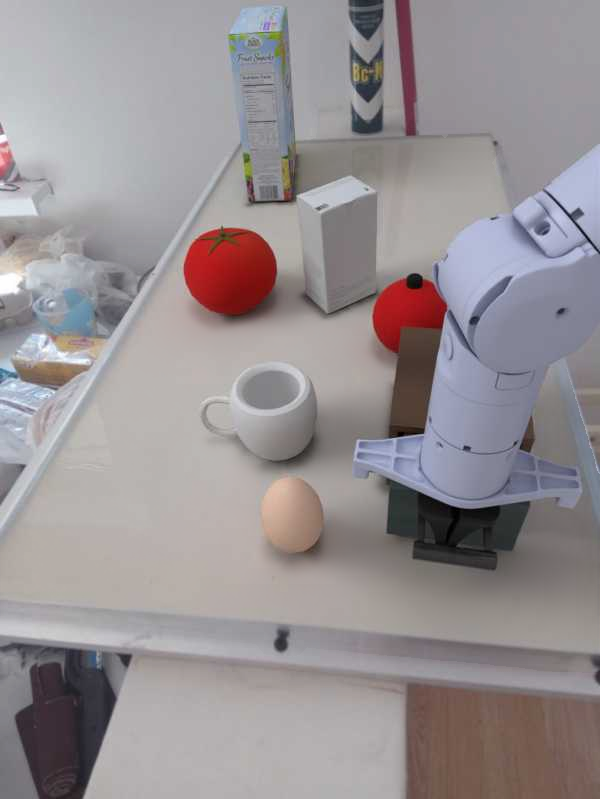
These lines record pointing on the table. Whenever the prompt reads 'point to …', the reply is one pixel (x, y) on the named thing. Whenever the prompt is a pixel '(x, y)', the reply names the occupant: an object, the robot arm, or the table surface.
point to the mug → (269, 410)
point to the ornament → (407, 309)
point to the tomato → (230, 270)
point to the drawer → (500, 537)
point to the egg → (292, 515)
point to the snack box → (264, 101)
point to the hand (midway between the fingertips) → (444, 537)
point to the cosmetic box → (339, 242)
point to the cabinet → (421, 384)
